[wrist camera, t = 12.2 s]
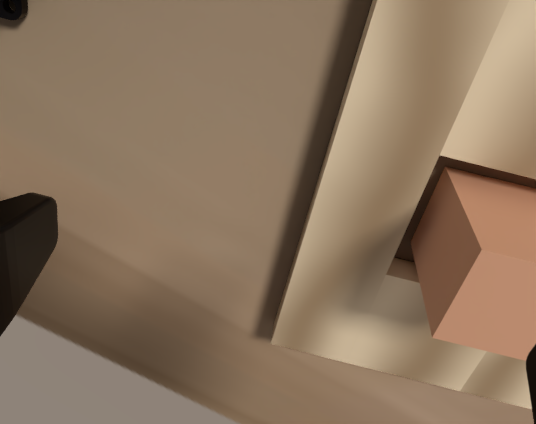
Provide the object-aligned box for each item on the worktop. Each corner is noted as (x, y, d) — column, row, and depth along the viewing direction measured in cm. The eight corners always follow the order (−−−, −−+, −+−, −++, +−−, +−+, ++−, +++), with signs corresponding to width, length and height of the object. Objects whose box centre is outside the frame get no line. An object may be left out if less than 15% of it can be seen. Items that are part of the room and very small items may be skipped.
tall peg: (410, 242, 22) (432, 337, 17) (445, 166, 20) (481, 249, 15) (494, 262, 22) (541, 364, 17) (538, 189, 20) (607, 280, 15)
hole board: (274, 322, 25) (270, 343, 24) (387, -49, 16) (391, -47, 15) (525, 386, 25) (535, 410, 24) (788, 51, 16) (827, 62, 15)
